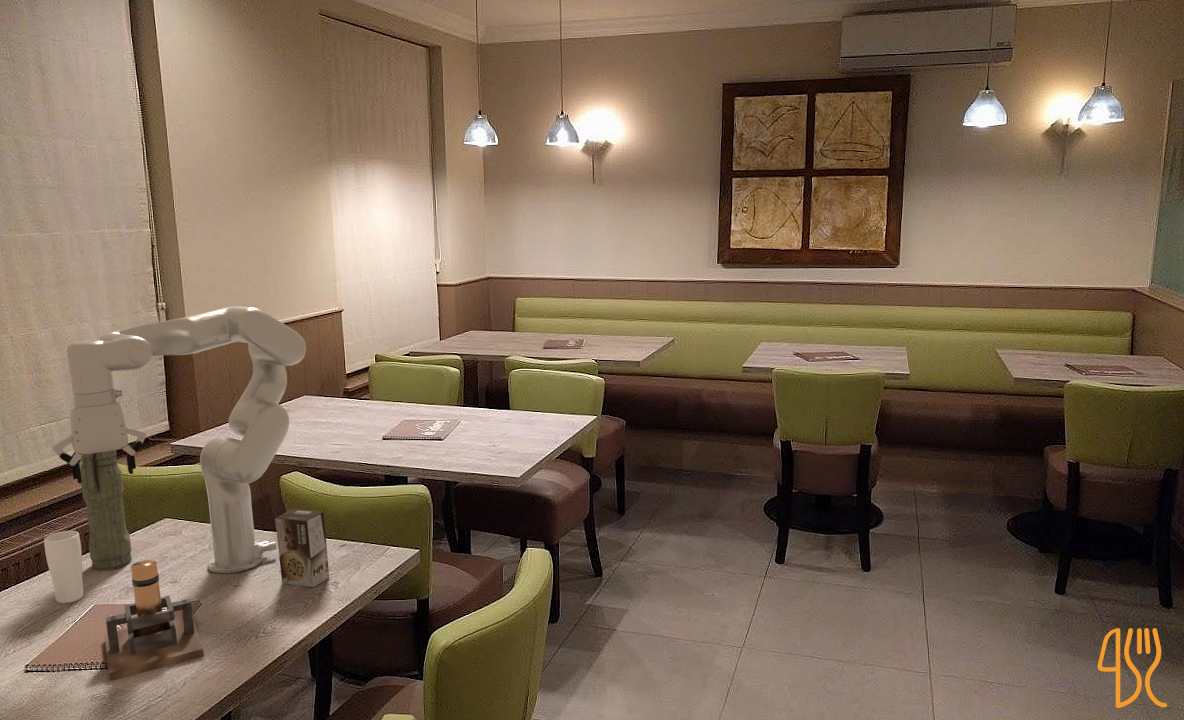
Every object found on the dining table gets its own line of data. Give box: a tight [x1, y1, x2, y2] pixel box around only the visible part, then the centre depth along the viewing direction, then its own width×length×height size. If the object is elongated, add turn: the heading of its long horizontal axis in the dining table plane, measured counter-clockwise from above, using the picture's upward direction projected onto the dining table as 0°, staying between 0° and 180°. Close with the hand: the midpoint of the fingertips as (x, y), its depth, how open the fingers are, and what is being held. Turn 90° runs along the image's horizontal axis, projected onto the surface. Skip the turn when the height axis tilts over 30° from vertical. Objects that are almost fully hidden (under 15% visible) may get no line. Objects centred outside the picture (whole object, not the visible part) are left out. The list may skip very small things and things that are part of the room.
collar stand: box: [104, 595, 205, 681], centre depth 168 cm, size 16×18×8 cm
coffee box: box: [274, 508, 330, 588], centre depth 198 cm, size 9×6×16 cm
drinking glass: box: [43, 530, 85, 605], centre depth 191 cm, size 7×7×15 cm
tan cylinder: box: [130, 559, 164, 636], centre depth 168 cm, size 5×5×16 cm
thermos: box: [80, 450, 133, 572], centre depth 209 cm, size 9×12×35 cm
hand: (105, 477), depth 183 cm, fingers open, 9 cm apart
